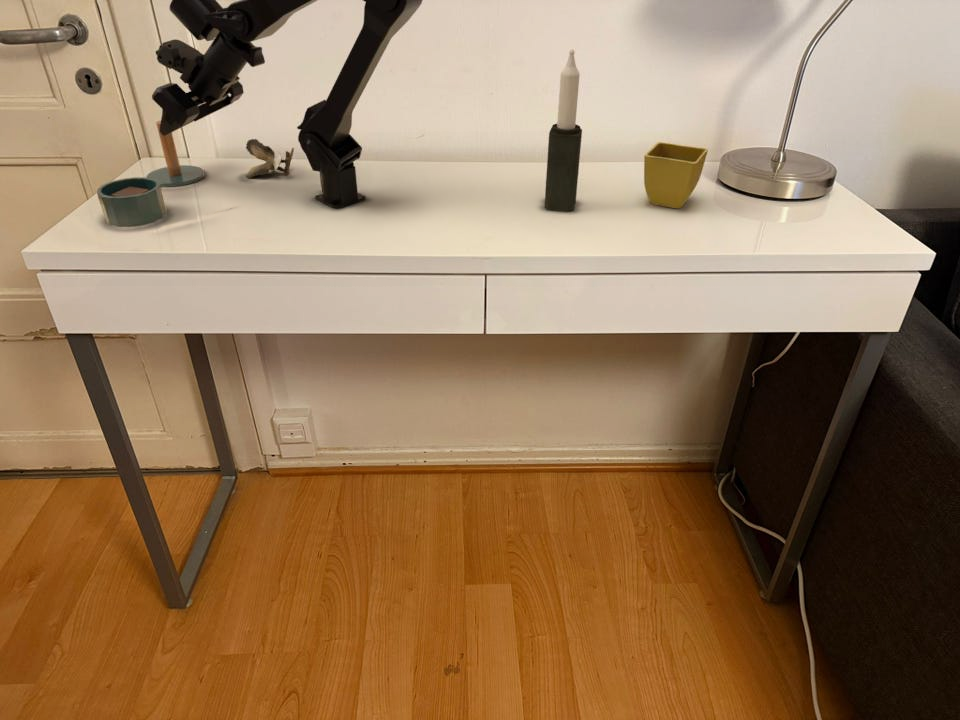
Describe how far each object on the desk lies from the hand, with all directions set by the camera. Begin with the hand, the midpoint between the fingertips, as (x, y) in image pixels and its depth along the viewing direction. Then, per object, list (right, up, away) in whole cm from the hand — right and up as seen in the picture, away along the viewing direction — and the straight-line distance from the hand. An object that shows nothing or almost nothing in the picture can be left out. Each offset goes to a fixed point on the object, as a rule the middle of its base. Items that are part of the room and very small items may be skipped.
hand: (177, 126), depth 122 cm
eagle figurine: (+13, -7, +9) cm, 17 cm away
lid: (-3, -7, +6) cm, 10 cm away
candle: (+67, -15, -2) cm, 69 cm away
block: (-3, -18, -9) cm, 20 cm away
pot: (-3, -18, -9) cm, 20 cm away
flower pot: (+86, -14, 0) cm, 87 cm away
